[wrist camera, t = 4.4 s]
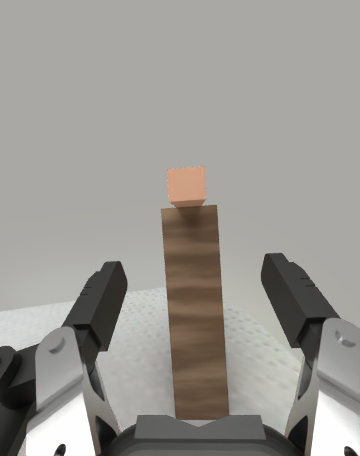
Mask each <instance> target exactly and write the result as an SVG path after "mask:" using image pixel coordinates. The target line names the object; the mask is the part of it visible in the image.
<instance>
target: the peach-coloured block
mask: <svg viewBox="0 0 360 456" xmlns="http://www.w3.org/2000/svg"><path fill="white" fill-rule="evenodd" d="M167 179H168V194H169V202H170V203H171V204H173V205H174V206H175V207H176V208H180V207H194V206H201V205H202V204H203V203H204V201H205V200H206V184H205V168H204V166H202V167H191V168H178V169H167Z"/></svg>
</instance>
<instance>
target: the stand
mask: <svg viewBox="0 0 360 456" xmlns="http://www.w3.org/2000/svg"><path fill="white" fill-rule="evenodd" d="M161 217H162V230H163V244H164V259H165V273H166V287H167V301H168V315H169V329H170V343H171V357H172V371H173V385H174V399H175V413H176V419H178V420H219V419H221V418H224V417H226V416H229V406H228V389H227V372H226V354H225V337H224V319H223V302H222V285H221V269H220V268H221V267H220V250H219V233H218V216H217V205H209V206H194V207H180V208H166V209H161Z"/></svg>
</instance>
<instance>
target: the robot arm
mask: <svg viewBox="0 0 360 456" xmlns="http://www.w3.org/2000/svg"><path fill="white" fill-rule="evenodd" d="M261 281H262V284H263V287H264V289H265V291H266V293H267V296H268V298H269V300H270V302H271V304H272V306H273V309H274V311H275V313H276V315H277V318H278V320H279V322H280V324H281V326H282V328H283V331H284V333H285V335H286V337H287V339H288V342H289V344H290V346H291V348H301V349H302V351H303V353H304V357H303V360H302V365H301V370H300V375H299V380H298V385H297V390H296V395H295V399H294V403H293V406H292V409H291V411H290V414H289V418H288V421H287V426H286V430H285V435H284V436H283V435H282V434H281V433H279V432H278V431H276V430H275V429H273V428H271V427H269V426H267V425H264V424H262V420H261V416H260V415H229V416H226V417H224V418H221V419H219V420H216V421H213V422H211V423H208V424H206V425H203V426H200V427H196V426H193V425H191V424H188V423H185V422H183V421H180V420H178V419H175V418H173V417H170V416H167V415H138V417H137V423H136V424H134V425H132V426H131V427H129V428H127V429H125V430H124V431H123V432H122V433H120V430H119V427H118V423H117V420H116V418H115V415H114V413H113V411H112V409H111V407H110V404H109V402H108V399H107V395H106V392H105V388H104V385H103V381H102V378H101V374H100V371H99V368H98V364H97V361H96V358H97V355H98V353H99V352H101V351H108V348H109V344H110V341H111V338H112V335H113V332H114V329H115V326H116V323H117V319H118V316H119V313H120V310H121V307H122V304H123V301H124V297H125V294H126V291H127V278H126V275H125V272H124V270H123V267H122V264H121V262H120V261H113V262H112V261H111V262H105V263H104V265H103V267H102V269H101V271H99V272H96V273H94V274H93V275H92V276H91V277H90V278H89V279H88V281H87V283H86V284H85V287H84V289H83V290H82V292H81V293H80V296H79V297H78V299H77V300H76V302H75V304H74V306H73V307H72V309H71V311H70V313H69V314H68V316H67V318H66V320H65V321H64V323H63V325H62V326H61V327H60V328H57V329H55V330H54V331H52V332H51V333H49V334H48V335H47V336H46V337H45V338H44V339H43V340H42V341H41V343H39V344H36V345H33V346H31V347H28V348H25V349H22V350H19V351H16V350H14V349H13V348H12V347H10V346H2V347H0V456H17V454H18V452H19V450H20V448H21V445H22V443H23V441H24V439H25V437H26V456H360V328H358V327H357V326H355V325H354V324H352V323H350V322H348V321H346V320H343V319H341V318H340V317H339V316H338V314H337V313H336V312H335V311H334V309H333V308H332V306H331V305H330V304H329V303H328V301H327V300H326V299H325V297H324V296H323V295H322V293H321V292H320V291H319V289H318V288H317V287H315V284H314V283H313V281H312V280H310V278H309V276H308V275H307V274H306V272H305V271H304V270H303V269H302V268H301V267H299V266H298V265H297V264H295V263H294V262H288V260H287V259H286V257H285V256H284V255H283V254H282V253H269V254H265V257H264V262H263V266H262V271H261Z"/></svg>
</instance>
